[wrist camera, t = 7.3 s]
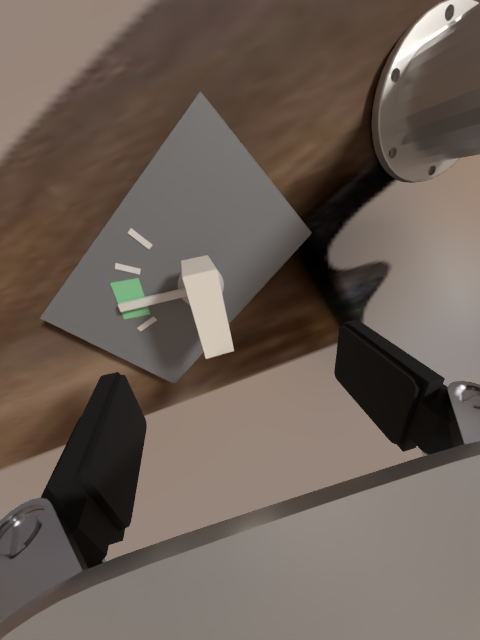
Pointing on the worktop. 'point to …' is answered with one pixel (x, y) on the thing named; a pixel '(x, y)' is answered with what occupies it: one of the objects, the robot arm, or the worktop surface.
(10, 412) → the worktop surface
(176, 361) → the dial board
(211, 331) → the door lever handle
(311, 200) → the worktop surface
